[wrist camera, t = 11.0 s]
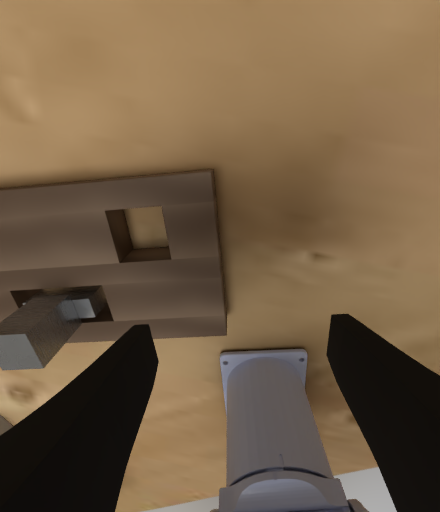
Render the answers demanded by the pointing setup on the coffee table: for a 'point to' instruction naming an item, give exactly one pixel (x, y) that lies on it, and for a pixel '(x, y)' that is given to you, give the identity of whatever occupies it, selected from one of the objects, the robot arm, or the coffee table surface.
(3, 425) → the lighter
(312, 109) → the coffee table surface
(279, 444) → the robot arm
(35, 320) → the gray t-shaped block
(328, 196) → the coffee table surface
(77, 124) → the coffee table surface
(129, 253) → the stand
